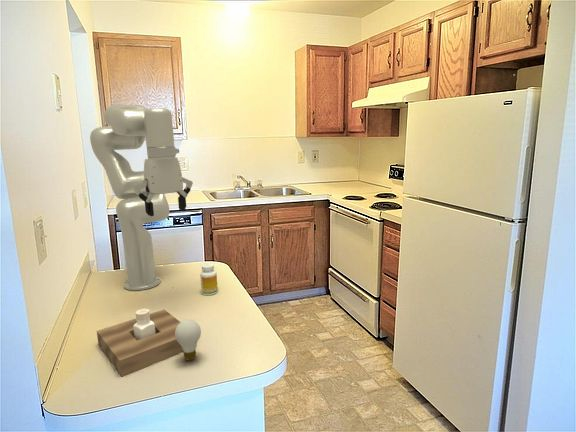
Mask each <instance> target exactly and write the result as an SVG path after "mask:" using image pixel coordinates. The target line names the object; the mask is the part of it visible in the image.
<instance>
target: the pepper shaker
mask: <svg viewBox="0 0 576 432" xmlns="http://www.w3.org/2000/svg"><path fill="white" fill-rule="evenodd" d="M150 314H151V313H150V309H148V308H141V309H138V310H136V311H135V319H136V320H137V323H136V324H134V326H133V327H134V336H135V339H136V340H140V339H143V338H145V337H148V336H151V335H154V334H156V333H155V324H154V322H152V321H151V320H150Z"/></svg>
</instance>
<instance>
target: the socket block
mask: <svg viewBox="0 0 576 432" xmlns="http://www.w3.org/2000/svg"><path fill="white" fill-rule="evenodd" d="M150 320H151V321H152V322H154V324H155V333H156V334H154V335H151V336H148V337H145V338H143V339H140V340H136V339H135V336H134V327H133V326H134V324H136V323H137V320H136V318H133V319H130V320H126V321H124V322H121V323H118V324H114V325H111V326H108V327H105V328H103V329H99V330H96V336H97V344H98V346H99V348H100V349H101V350H102V352H103V353H104V355H105V356H106V358H107V359H108V361H110V363H111V365H112V366H113V367H114V368H115V370H116V371H117V373H118V374H119V375H120V377H124V376H126V375H129V374H132V373H134V372H137V371H139V370H141V369H144V368H146V367H149V366H152V365H154V364H156V363H159V362H161V361H164V360H167V359H169V358H171V357H174V356H176V355H178V354H182V353H184V351H183V349H182V346H181V345H180V344H179V343H178V342H177V340H176V338H175V330H176V328H177V326H178V325H179V323H181V322H182V321H180V320H178V319H177V318H176V317H175V316H174V315H172V314H171V313H169V311H168V310H166V309H161V310H157V311H154V312H151V313H150Z"/></svg>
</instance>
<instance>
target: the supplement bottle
mask: <svg viewBox="0 0 576 432" xmlns="http://www.w3.org/2000/svg"><path fill="white" fill-rule="evenodd" d="M199 275H200V276H199V277H200V287H201V288H200V289H201V295H204V296H213V295H216V294H218V291H219V290H218V274H217V271H216V270H215V265H214V264H213V263H204V264H202V265H201V272H200V273H199Z"/></svg>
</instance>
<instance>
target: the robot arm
mask: <svg viewBox="0 0 576 432" xmlns="http://www.w3.org/2000/svg"><path fill="white" fill-rule="evenodd" d="M103 119H104V122H105V123H106V124H107V125H105V126H100V127H96V128H94V129H93V130H92V131H91V132H90V134H89V135H90V136H89V137H90V138H89V139H90V140H89V141H90V145H91V149H92V152H93V154H94V155H95V157H96V158H97V160H98V161H99V163H100V164H101V166H102V167H103V168H104V170H105V174H106V176H107V179H108V181H109V185H110V186H111V189H112V192H113V194H114V196H115V197H116V198H117V199H119V200H120V201H119V202H118V203H117V204H116V207H115V211H116V212H115V213H116V216H117V219H118V220H117V221H118V224H119V226H120V231H121V239H122V245H123V254H124V260H125V261H124V262H125V269H126V276H127V277H126V278H127V280H125V281H124V282H123V284H122V285H123V289H125V290H127V291H143V290H148V289H151V288H154V287H156V286H158V285H159V284H160V283H161V277H160V276H158V275H156V269H155V258H154V249H153V239H152V234H151V233H150V232H149V230H148V229H147V228H145V227H144V225H145V224H150V223H155V222H161V221H164V220H166V219H168V217H169V216H170V205H169V202H168V200H167V197H166V194H174V193H176V194H177V195H178V197H177V203H178V210H179V211H182V212H186V211H187V210H186V208H187V199H186V198H187V197H188V194H190V192H191V188H192V187H193V183H194V182H193V180H190V179H187V178H185V177H183V173H182V169H181V165H180V161H179V158H178V157H177V154H180V149H179V148H176V146H175V138H174V137H175V136H174V125H173V124H174V123H173V115H172V111H171V110H170V109H169V108H162V107H161V108H160V107H153V108H151V107H150V108H146V107H145V106H144V105H139V104H112V105H111V106H109V107H107V108H106V109H105V111H104V113H103ZM144 143H145V144H146V152H147V153H146V154H147V158H145V159H144V162H143V170H140V171H139V170H138V171H134V170H132V167H131V164H130V162H129V161H128V160H127V158H125V157H124V156H123V155H122V154H120V153H118V152H117V151H118V150H119V151H121V150H125V151H126V150H136V149H137V150H138V149H140V148H142V146H143V145H144ZM184 184H185V187H184Z"/></svg>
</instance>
